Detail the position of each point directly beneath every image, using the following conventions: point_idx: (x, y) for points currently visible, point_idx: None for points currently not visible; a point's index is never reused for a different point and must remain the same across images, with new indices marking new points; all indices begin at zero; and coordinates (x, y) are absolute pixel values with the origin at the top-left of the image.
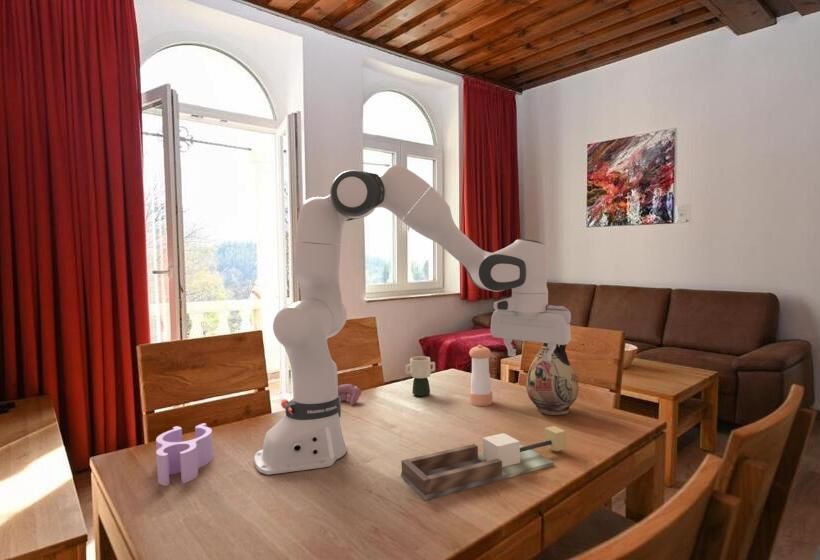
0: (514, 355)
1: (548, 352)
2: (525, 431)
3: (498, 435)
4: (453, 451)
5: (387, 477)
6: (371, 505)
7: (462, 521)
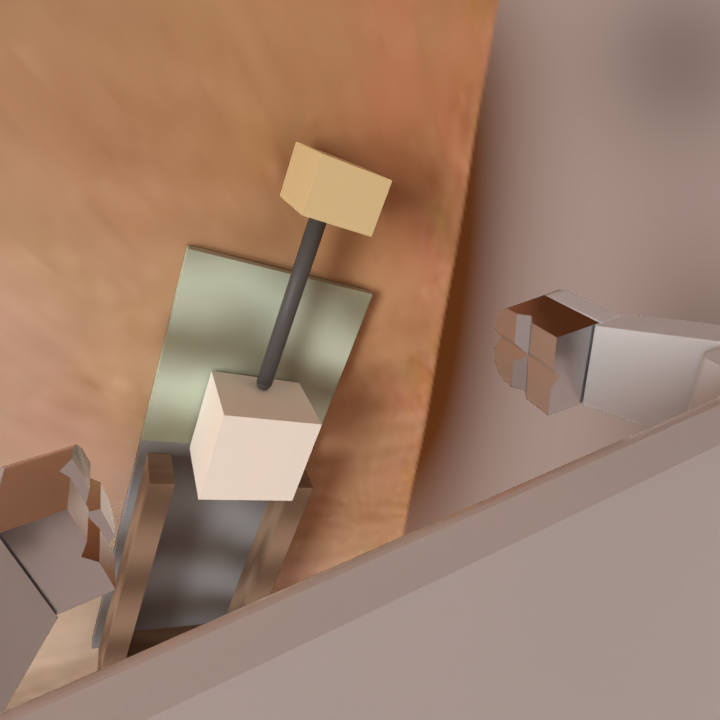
0: (86, 474)
1: (623, 410)
2: (33, 20)
3: (227, 446)
4: (151, 560)
5: (71, 664)
6: None
7: None
